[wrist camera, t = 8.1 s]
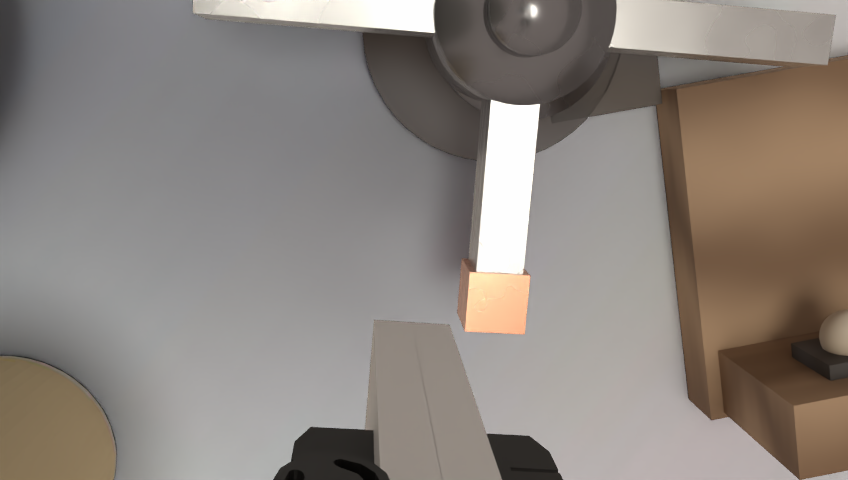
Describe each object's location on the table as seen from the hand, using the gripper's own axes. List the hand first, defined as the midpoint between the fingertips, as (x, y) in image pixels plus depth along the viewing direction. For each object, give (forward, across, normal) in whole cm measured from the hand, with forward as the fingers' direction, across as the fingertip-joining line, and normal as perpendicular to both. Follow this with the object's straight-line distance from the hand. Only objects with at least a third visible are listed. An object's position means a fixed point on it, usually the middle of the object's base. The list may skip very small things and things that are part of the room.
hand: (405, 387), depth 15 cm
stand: (+13, +10, +4) cm, 17 cm away
